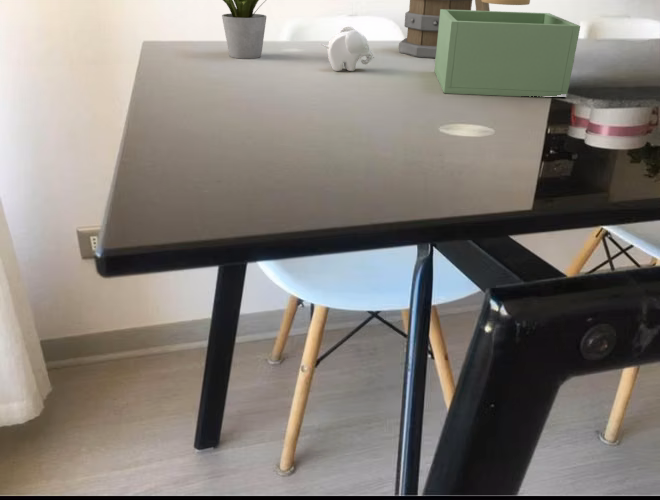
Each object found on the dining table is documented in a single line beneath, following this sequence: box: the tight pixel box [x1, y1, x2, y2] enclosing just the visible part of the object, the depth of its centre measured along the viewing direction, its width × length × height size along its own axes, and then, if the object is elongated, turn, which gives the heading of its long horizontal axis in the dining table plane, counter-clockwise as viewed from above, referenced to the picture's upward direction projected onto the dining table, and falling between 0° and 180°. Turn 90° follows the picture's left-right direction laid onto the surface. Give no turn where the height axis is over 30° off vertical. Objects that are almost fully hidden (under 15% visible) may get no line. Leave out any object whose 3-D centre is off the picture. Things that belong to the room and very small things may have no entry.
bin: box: [434, 9, 581, 98], centre depth 86 cm, size 16×16×9 cm
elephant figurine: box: [320, 25, 375, 72], centre depth 93 cm, size 7×8×6 cm
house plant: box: [221, 0, 267, 59], centre depth 99 cm, size 14×14×16 cm
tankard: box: [398, 0, 491, 59], centre depth 105 cm, size 20×13×15 cm, turn 30°
